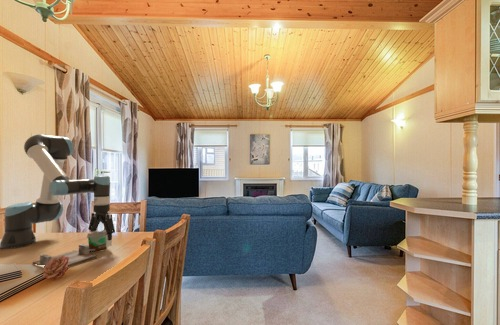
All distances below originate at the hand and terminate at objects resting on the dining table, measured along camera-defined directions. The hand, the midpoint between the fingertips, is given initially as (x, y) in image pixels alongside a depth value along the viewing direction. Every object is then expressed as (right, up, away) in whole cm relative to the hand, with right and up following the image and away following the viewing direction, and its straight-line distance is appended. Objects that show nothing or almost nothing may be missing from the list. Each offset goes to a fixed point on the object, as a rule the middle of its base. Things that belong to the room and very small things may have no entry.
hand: (101, 244), depth 135 cm
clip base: (-7, -2, -17) cm, 18 cm away
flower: (+3, -2, -34) cm, 35 cm away
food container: (0, -3, 0) cm, 3 cm away
